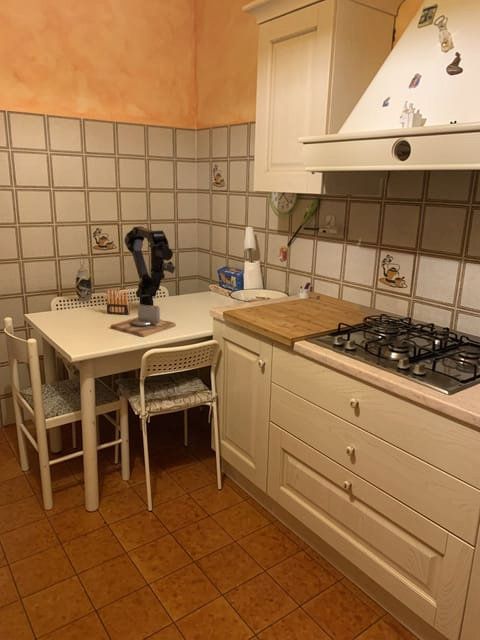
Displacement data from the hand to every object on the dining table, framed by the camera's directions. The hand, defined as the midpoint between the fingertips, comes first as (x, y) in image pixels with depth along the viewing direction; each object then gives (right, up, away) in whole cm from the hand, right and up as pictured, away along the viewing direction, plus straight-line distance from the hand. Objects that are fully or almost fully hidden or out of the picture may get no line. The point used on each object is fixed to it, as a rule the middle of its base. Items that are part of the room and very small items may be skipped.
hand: (157, 290), depth 236 cm
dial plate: (-3, -18, -18) cm, 25 cm away
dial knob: (-2, -16, -19) cm, 25 cm away
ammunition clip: (-19, -12, +2) cm, 23 cm away
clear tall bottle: (-44, -4, +27) cm, 52 cm away
